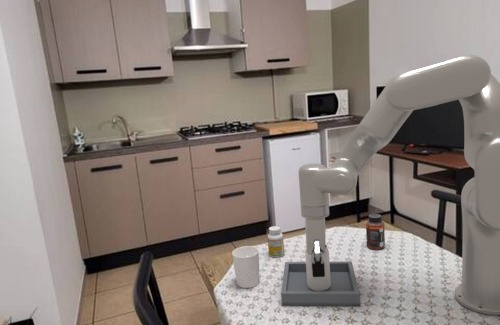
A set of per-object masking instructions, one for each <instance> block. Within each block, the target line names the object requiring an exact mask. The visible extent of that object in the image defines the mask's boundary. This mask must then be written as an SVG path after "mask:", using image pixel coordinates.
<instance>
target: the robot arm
mask: <svg viewBox="0 0 500 325" xmlns="http://www.w3.org/2000/svg"><path fill="white" fill-rule="evenodd" d="M491 72H492V71H491V67H490V65H489V63H488V62H487V61H486V60H485V59H484V58H482V57H480V56H478V55H473V54H465V55H461V56H459V57H458V56H457V57H454V58H450V59H447V60H444V61H442V62H438V63H437V62H436V63H434V64H431V65H428V66H424V67H420V68H417V69H413V70H412V69H411V70H408V71H402V72H400V73H397V74H396V75H394V76H392V78H391V79H390V80H389V81H388V83H387V84H386V85H385V86H384V88H383V90H382V91H381V93H380V94H379V95H378V97H377V98H376V100H375V101H374V103H373V104H372V106H371V107H370V109H369V110H368V111H367V112H366V114H365V116H364V117H363V118H362V119H361V121H360V123H359V124H358V125H357V127H356V128H355V131H354V132H353V134H352V136H351V138H350V139H349V140H348V142H347V143H346V144H345V146H344V147H343V149H342V150H341V152H340V153H339V154H338V155H337V157H336V158H335V160H334V161H333V163H332V164H331V166H330V167H326V165H324V164H323V163H322V164H321V163H307V164H304V165H301V166H300V167H299V169H298V182H299V200H300V214H301V217H302V218H305V219H304V220H305V222H304V226H305V227H304V228H305V240H306V241H305V244H306V245H305V246H307V253H308V254H309V253H310V254H311V253H312V258H313V262H312V273H313V277H325V269H324V262H323V254H324V253H325V244H326V238H327V237H326V236H327V235H326V218H327V217H329V216H330V204H329V194H332V195H339V196H340V195H341V196H343V195H349V194H351V193H352V192H353V191H354V190H355V188H356V187H357V183H358V176H359V175H360V173H361V172H362V171H363V169H364V168H365V166H366V165H367V163H369V161H370V160H371V159H372V158H373V156H374V155H376V153H378V151H380V150H382V149H383V148H384V147H386V146H387V145H388V144H389V143H390V142H391V141H392V139H394V137H395V136H396V134H397V133H398V132H399V130H400V129H401V127H402V126H403V124H404V123H405V122H406V120H407V119H408V118H409V117H410V116H411V115H412V113H413V112H414V111H416V110H421V109H424V108H425V109H426V108H430V107H434V106H439V105H442V104H445V103H450V102H454V101H459V103H460V106H461V108H462V114H463V123H464V124H463V126H464V128H463V130H464V132H463V133H464V137H463V138H464V143H463V144H464V146H463V147H464V148H463V153H464V154H463V155H464V160H465V161H466V164H468V165H469V167H471V168H472V169H473V171H474V176H473V177H472V178H470V179H469V180H468V181H466V183H465V184H464V185H463V188H462V190H461V196H460V201H461V215H462V247H461V248H462V249H461V250H462V255H461V257H462V260H461V263H462V264H461V285H458V286H457V287H456V288H455V290H454V298H455V299H456V301H457V302H458V303H459V304H460V305H462V306H463V307H465V308H467V310H468V309H469V310H471V311H473V312H477V313H480V314H484V315H493V316H500V81H498V79H497V78H496V77H495V76H494V75H493V74H492V73H491ZM314 242H315V243H314ZM313 248H314V250H315V251H314V250H313ZM320 250H321V251H320ZM314 255H315V257H314ZM320 255H321V257H320Z"/></svg>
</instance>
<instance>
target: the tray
mask: <svg viewBox="0 0 500 325" xmlns="http://www.w3.org/2000/svg"><path fill="white" fill-rule="evenodd" d="M329 262H330V280H331V286H330V288H329V289H328V290H326V291H313V290H311V289H310V288H309V287H308V284H307V272H306V261H286V262H284V267H283V278H282V284H281V290H280V297H281V306H282V307H284V306H285V307H287V306H288V307H295V306H296V307H361V293H360V289H359V284H358V281H357V277H356V274H355V268H354V265H353V262H352V261H351V260H350V261H347V260H345V261H344V260H343V261H329Z"/></svg>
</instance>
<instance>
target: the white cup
mask: <svg viewBox="0 0 500 325" xmlns="http://www.w3.org/2000/svg"><path fill="white" fill-rule="evenodd" d="M259 251H260V250H259V249H258V248H257V246H256V247H255V246H253V245H250V246H249V245H246V246H245V245H244V246H240V247H237V248H234V249H233V250H232V252H231V254H232V255H231V256H232V262H233V267H234V274H235V278H236V284H237V286H238V287H240V288H244V289H250V288H251V289H252V288H254V287H256V286H258V285H259V283H260V252H259Z"/></svg>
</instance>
